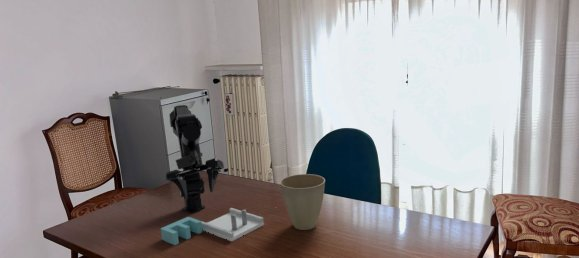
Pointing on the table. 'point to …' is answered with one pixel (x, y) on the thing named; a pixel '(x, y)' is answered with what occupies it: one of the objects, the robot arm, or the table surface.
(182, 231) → the teal notched block
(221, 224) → the board
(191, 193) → the robot arm
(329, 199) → the table surface
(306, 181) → the plant pot
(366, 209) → the table surface
